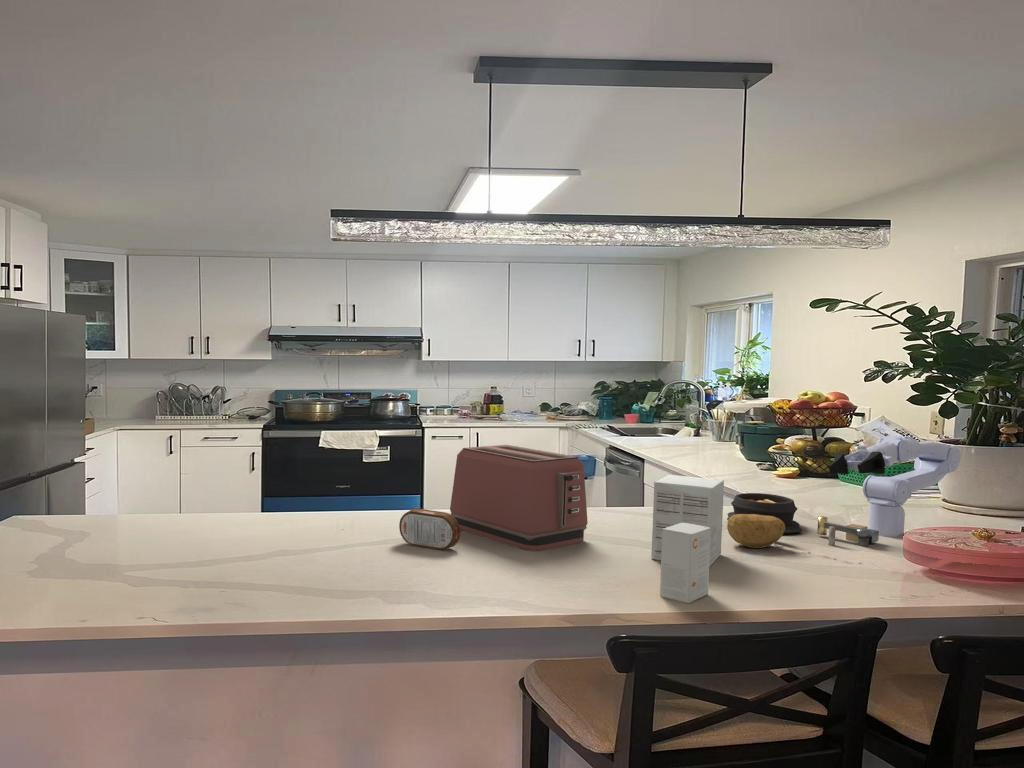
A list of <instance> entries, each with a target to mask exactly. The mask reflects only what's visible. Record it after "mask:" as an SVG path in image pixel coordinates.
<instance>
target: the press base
mask: <svg viewBox="0 0 1024 768" xmlns="http://www.w3.org/2000/svg"><path fill="white" fill-rule="evenodd" d="M828 530H829V531H828V546H830V547H831V546H832V547H835V546H836V531H837V530H836V527H834V526H830V527H829V529H828ZM843 541H846V542H851V543H855V544H856V543H857V546H859V547H866V548H868V547H869V545H870V543H869V537H861V536H858V542H853V541H848V540H846V538H844V539H843Z"/></svg>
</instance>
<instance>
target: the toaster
mask: <svg viewBox="0 0 1024 768" xmlns="http://www.w3.org/2000/svg"><path fill="white" fill-rule="evenodd" d="M584 466H585V465H584V463H583V461H581V459H579V457H578V456H575V455H569V454H568V455H567V454H562V453H558V452H551V451H546V450H541V449H540V450H539V449H533V448H527V447H522V446H517V445H516V446H515V445H510V444H499V445H486V446H470V447H463V448H462V449H461V450H460V451H459V452H458V454H456V461H455V468H454V469H455V470H454V475H453V476H454V478H453V485H452V491H451V499H450V500H451V501H450V507H449V511H450V515H452V516H453V517H454V518H455V519H456V520H457V522H458V524H459V527H460V531H464V532H466V533H470V534H474V535H477V536H480V537H483V538H486V539H490V540H493V541H496V542H499V543H501V544H505V545H508V546H511V547H514V548H517V549H521V550H524V551H530V552H537V551H538V552H539V551H544V550H545V551H546V550H550V549H556V548H560V547H566V546H571V545H576V544H581V543H583V542H584V536H585V531H586V530H587V528H588V527H587V525H588V524H589V523H588V509H587V508H588V507H587V497H586V493H587V492H586V483H585V481H586V479H585V467H584Z"/></svg>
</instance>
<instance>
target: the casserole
mask: <svg viewBox="0 0 1024 768" xmlns="http://www.w3.org/2000/svg"><path fill="white" fill-rule="evenodd" d="M730 504H731V505H732V507H733V511H731V512H730V511H729V512H728V513H727V518H726V519H727V521H728V520H729V518H730V517H731V516H733V515H736V514H757V515H765V516H773V517H776V518H779V519H780V520H782V521H783V522H784V524H785V530H784V533H783V534H796V533H797V534H798V533H801V532H802V531H803V530H802V528H801V525H800V523H799V522H798V521H796V520H794V516H795V513H796V511H798V507H797V506H796V504H795V500H794V499H792V498H790V497H786V496H784V495H783V496H782V495H778V494H770V493H759V492H756V493H755V492H752V493H751V492H745V493H738V494H736V495H735V496H734V498H733V501H731V503H730Z"/></svg>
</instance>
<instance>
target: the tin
mask: <svg viewBox="0 0 1024 768" xmlns="http://www.w3.org/2000/svg"><path fill="white" fill-rule="evenodd" d="M398 526H399V533H400V536H401V538H402V539H403V540H404V542H405V543H407V544H408V545H410V546H415V547H419V548H427V549H433V550H437V551H446V550H448V549H450V548H452V547H454V546H456V545H457V544H458V543H459V541H460V537H461V530H460V527H459V524H458V522H457V520H456V519H455V518H454V517H453V516H452V515H451V513H449V512H444V511H439V510H438V511H437V510H432V509H431V510H430V509H425V508H416V507H415V508H412V509H410V510H408V511H407V512H405V513H404V514H402V516H401V518H400V519H399V524H398Z"/></svg>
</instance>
